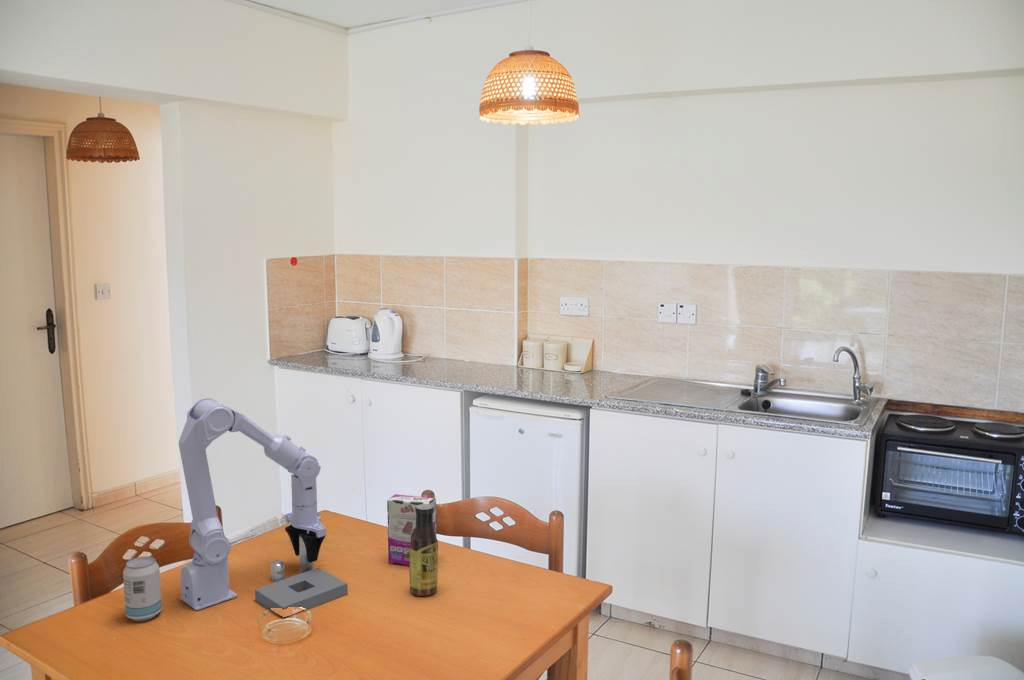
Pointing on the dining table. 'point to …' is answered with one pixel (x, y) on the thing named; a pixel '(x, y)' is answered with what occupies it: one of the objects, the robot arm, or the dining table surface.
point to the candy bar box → (403, 525)
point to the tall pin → (304, 557)
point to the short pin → (277, 571)
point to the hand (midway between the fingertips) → (306, 557)
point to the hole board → (302, 590)
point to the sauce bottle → (423, 553)
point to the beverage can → (142, 588)
